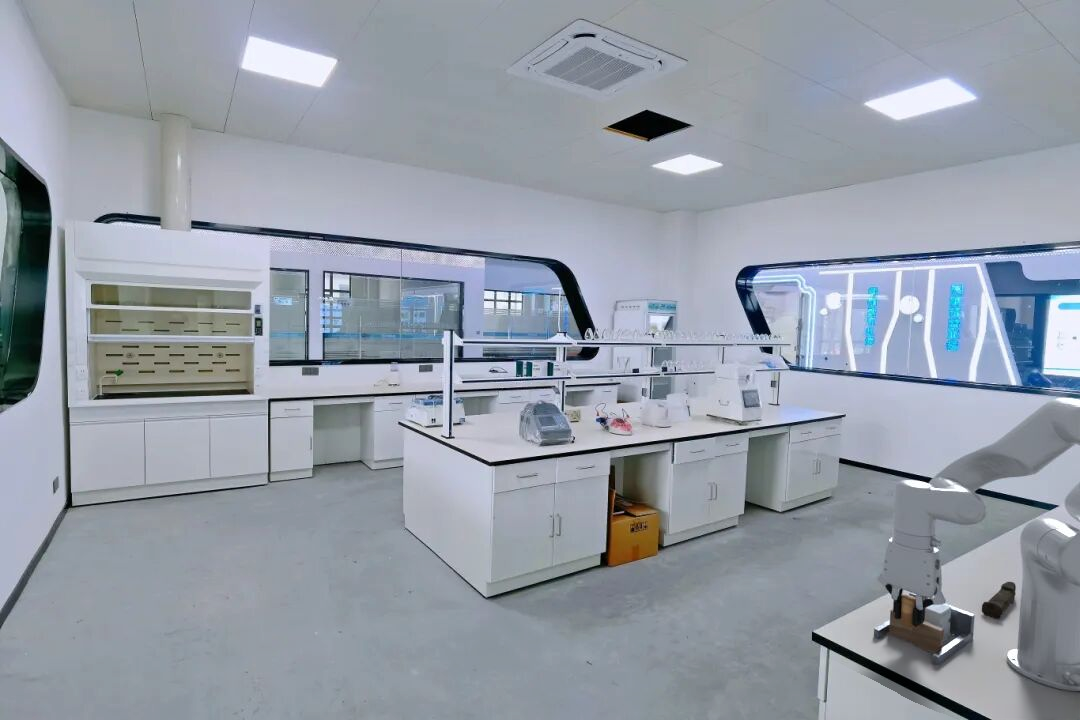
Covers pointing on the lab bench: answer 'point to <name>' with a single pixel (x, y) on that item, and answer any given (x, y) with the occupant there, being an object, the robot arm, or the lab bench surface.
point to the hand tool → (1000, 601)
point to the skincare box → (939, 617)
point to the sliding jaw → (915, 628)
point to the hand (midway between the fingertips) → (908, 620)
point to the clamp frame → (958, 626)
